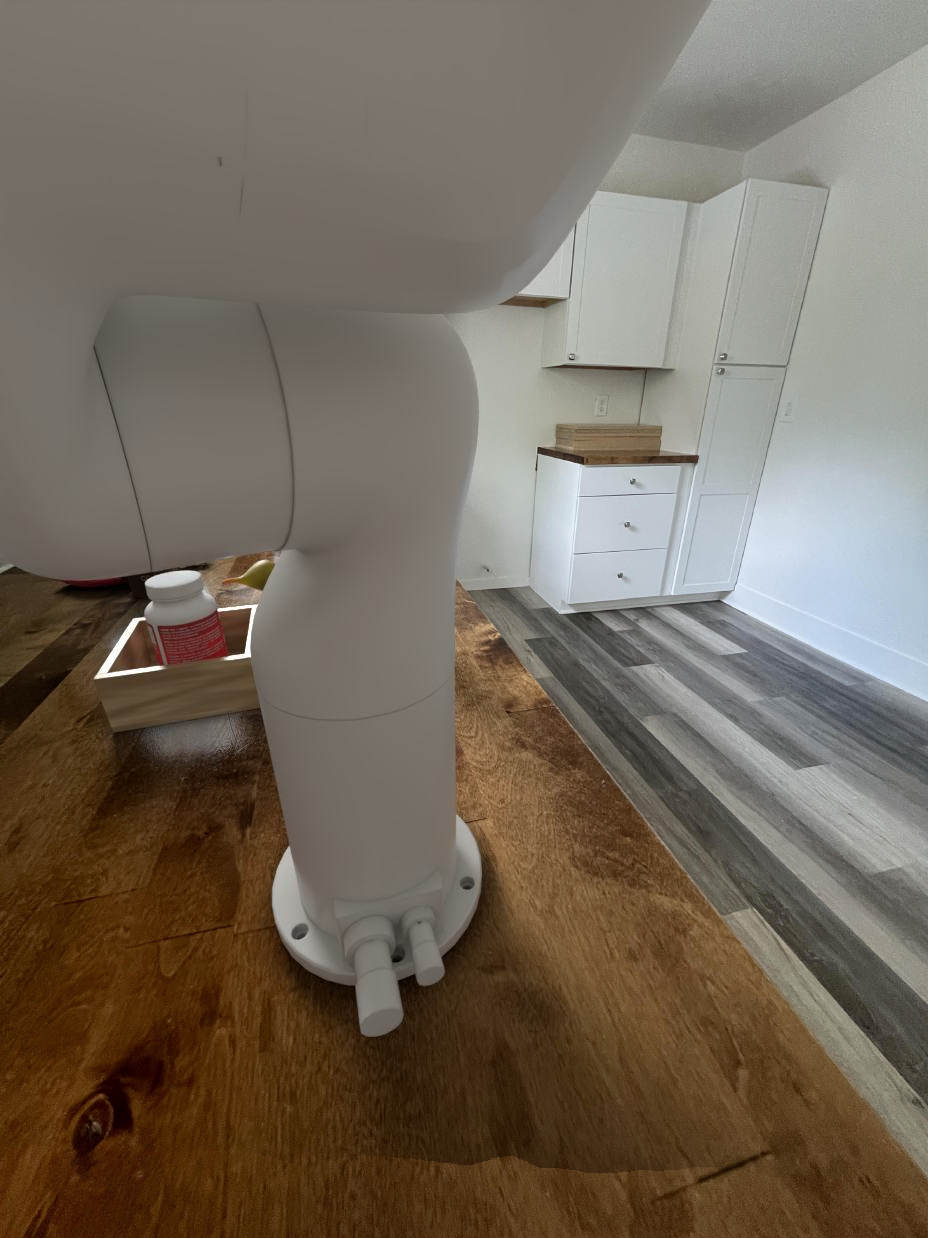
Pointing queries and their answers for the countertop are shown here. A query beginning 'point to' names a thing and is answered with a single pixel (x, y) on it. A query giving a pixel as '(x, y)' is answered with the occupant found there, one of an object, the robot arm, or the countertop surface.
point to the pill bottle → (183, 619)
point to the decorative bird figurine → (95, 582)
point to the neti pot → (255, 575)
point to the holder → (177, 678)
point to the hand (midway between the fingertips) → (195, 380)
